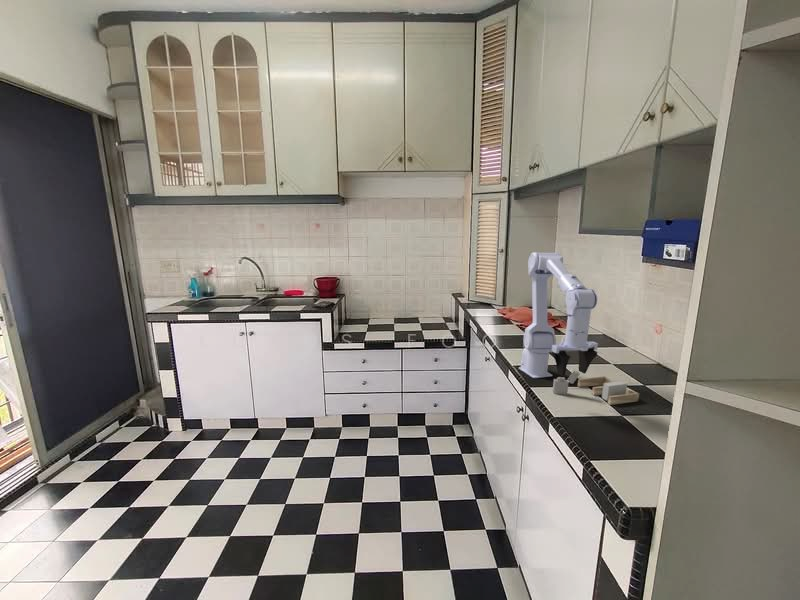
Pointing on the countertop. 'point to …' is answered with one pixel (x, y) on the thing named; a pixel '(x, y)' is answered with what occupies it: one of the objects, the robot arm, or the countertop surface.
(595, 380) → the rack
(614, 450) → the countertop surface
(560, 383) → the lighter
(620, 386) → the grey block
